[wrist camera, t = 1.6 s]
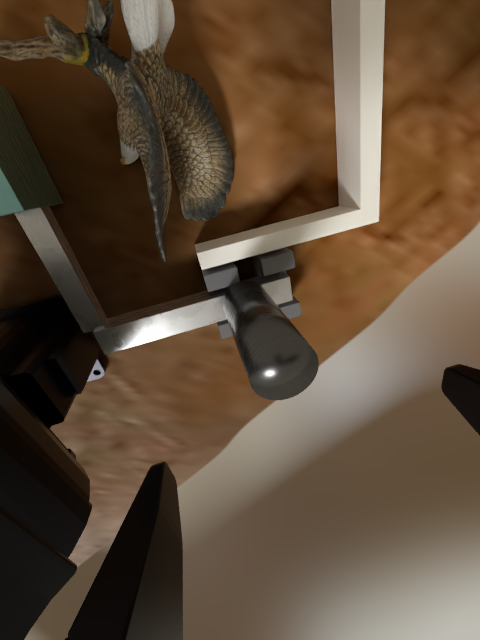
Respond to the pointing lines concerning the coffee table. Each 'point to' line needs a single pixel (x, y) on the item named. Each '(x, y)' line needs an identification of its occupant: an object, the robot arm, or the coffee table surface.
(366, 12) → the frame
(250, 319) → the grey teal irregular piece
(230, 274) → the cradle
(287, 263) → the cradle
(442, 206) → the coffee table surface
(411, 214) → the coffee table surface
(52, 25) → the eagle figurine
